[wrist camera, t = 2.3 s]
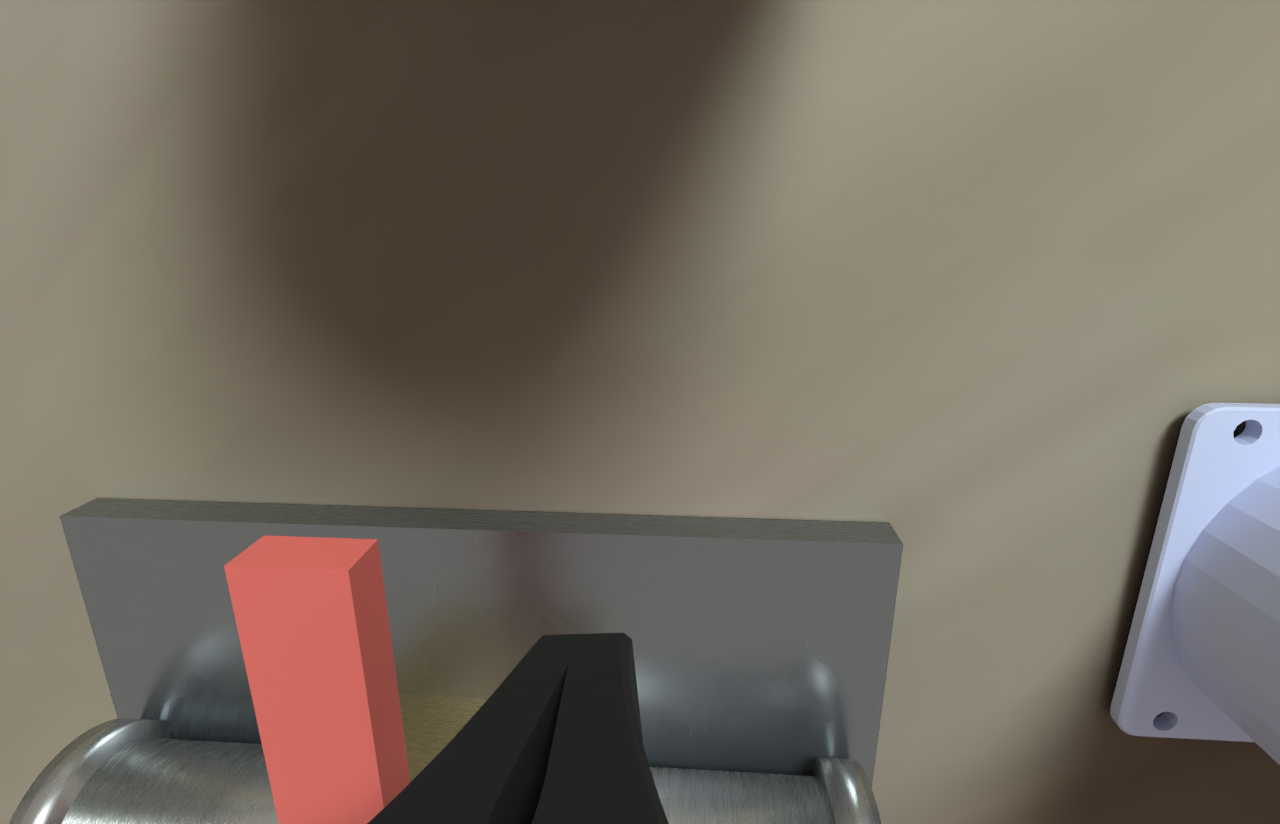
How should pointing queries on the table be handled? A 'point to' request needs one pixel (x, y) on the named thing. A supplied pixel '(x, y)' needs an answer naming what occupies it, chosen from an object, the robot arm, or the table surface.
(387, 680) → the lever
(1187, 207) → the table surface
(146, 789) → the valve assembly
